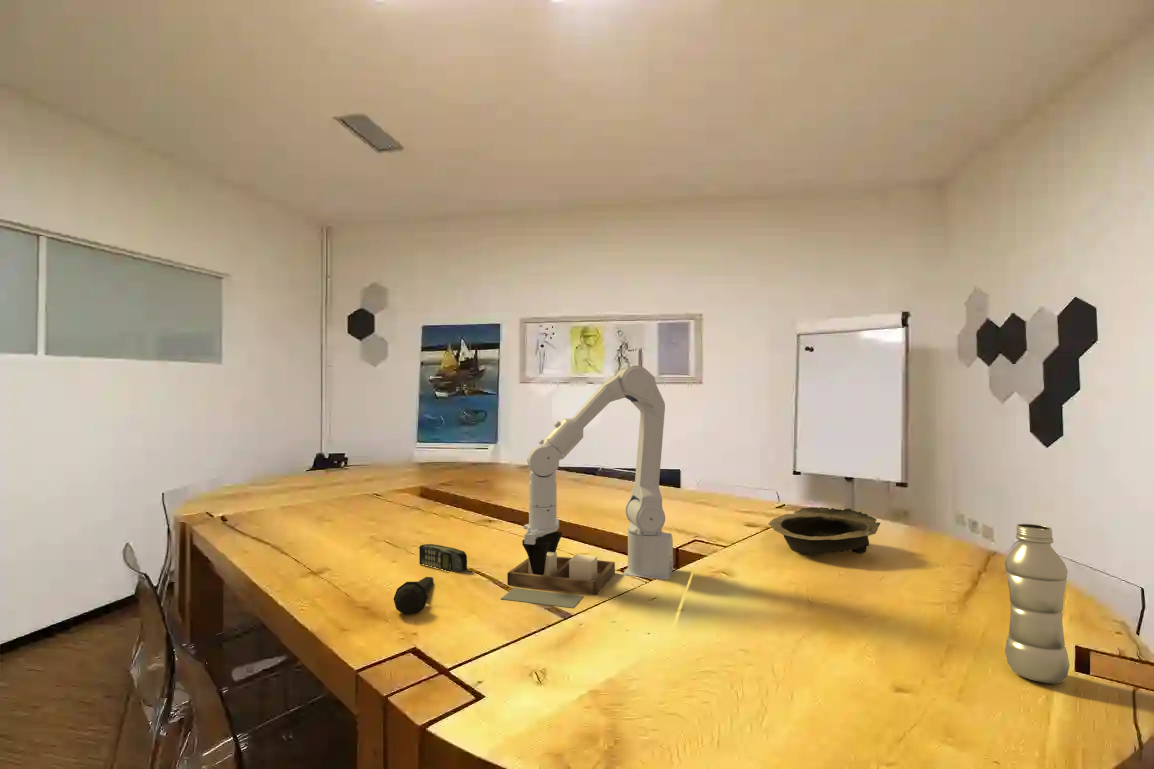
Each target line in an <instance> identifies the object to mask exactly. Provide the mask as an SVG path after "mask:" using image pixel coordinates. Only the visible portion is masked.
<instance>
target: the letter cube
mask: <svg viewBox="0 0 1154 769" xmlns="http://www.w3.org/2000/svg"><path fill="white" fill-rule="evenodd" d="M557 554H558V553H557V551H556V552H547V556H546V562H545V570H544V574H543V575H545V576H551V575H552V574H554V573H555V572H556V571H557V556H558V555H557ZM527 559H528V574H533V573H532V569H531V565H530V561H529V557H528V558H527Z"/></svg>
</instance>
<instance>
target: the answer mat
mask: <svg viewBox="0 0 1154 769" xmlns="http://www.w3.org/2000/svg"><path fill="white" fill-rule="evenodd" d="M584 597H585V596H584V595H581V594H580V595H579V594H572V593H562V592H554V591H545V590H535V589H527V588H521V587H514V588H512V589H511V590H510V591H509V592H508V593H506V594H505V595H504V596H502V597H501V598H500V600H503V601H509V602H510V601H511V602H519V603H526V604H534V605H543V606H549V607H559V608H567V609H575V608H576V606H577V605H578V604H579V602H581V600H582V599H583V598H584Z"/></svg>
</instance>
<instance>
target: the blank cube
mask: <svg viewBox="0 0 1154 769" xmlns="http://www.w3.org/2000/svg"><path fill="white" fill-rule="evenodd" d="M570 558H571V559H570V560H569V578H573V579H583V580H592V581H594V580H595V579H596V578H597V560H598V556H597V555H589V554H588V555H587V554H579V553H578V554H577V553H576V554H575V555H574V556H572V557H570Z"/></svg>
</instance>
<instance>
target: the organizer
mask: <svg viewBox="0 0 1154 769" xmlns="http://www.w3.org/2000/svg"><path fill="white" fill-rule="evenodd" d="M571 558H572V557H568V556H558V555H557V571H556V572H555V573H554V574H552V575H551V576H545V575H536V574H528V558H526V559H525V560H524V561H522V562H520V563H519V564H518V565H516V566H515V567H514V568H512V569H511V570H509V571H508V572H507V574H506V575H507V576H506V577H507V578H506V579H507V581H506V583H507V586H514V587H520V588H521V587H523V588H530V589H531V588H532V589H538V590H539V589H540V590H550V591H559V592H567V593H574V594H583V595H590V596H591V595H592V596H598V595H599V593H600V592H601V591H602V590H603V588H604V587H605V586H607V583H608V582H609V581H610V580H611V579H612V577H613V576H614V575H615V573H616V566H615V565H616V562H615V561H612V560H611V561H610V560H600V559H599V560H598V559H597V578H596V579H595V580H594V581H592V580H583V579H573V578H569V560H570V559H571Z"/></svg>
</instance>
